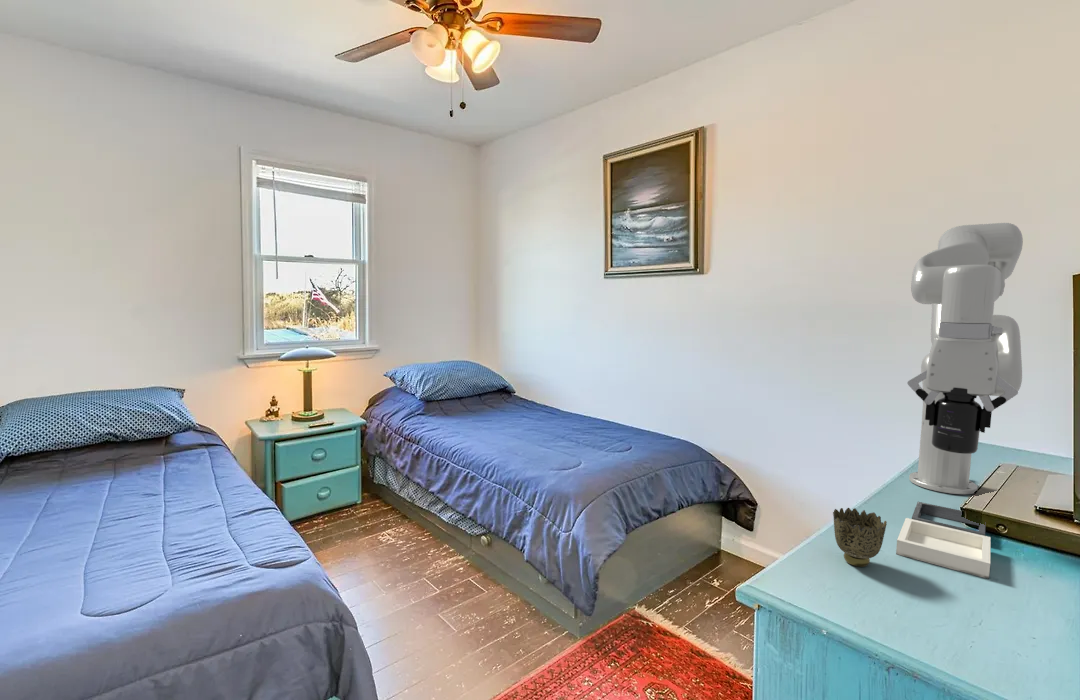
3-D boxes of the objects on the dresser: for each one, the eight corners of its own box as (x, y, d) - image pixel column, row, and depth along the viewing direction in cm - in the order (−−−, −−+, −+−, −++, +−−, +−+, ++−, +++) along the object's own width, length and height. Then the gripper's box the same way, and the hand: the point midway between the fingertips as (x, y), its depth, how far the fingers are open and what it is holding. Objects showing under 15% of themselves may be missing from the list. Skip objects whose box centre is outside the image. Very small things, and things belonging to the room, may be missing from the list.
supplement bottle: (939, 452, 96) (944, 388, 95) (925, 442, 102) (930, 382, 101) (985, 456, 94) (991, 390, 92) (968, 445, 100) (973, 384, 99)
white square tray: (904, 530, 98) (905, 517, 97) (989, 551, 90) (990, 537, 89) (896, 553, 88) (897, 539, 88) (988, 579, 81) (990, 563, 80)
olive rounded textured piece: (891, 577, 81) (895, 528, 80) (840, 572, 83) (843, 523, 82) (871, 554, 88) (874, 509, 88) (824, 550, 90) (827, 505, 89)
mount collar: (917, 510, 107) (917, 501, 106) (984, 525, 100) (985, 515, 100) (910, 527, 99) (911, 517, 99) (984, 545, 92) (985, 534, 92)
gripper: (1028, 333, 93) (1018, 431, 95) (909, 329, 104) (902, 417, 106) (1030, 336, 87) (1020, 440, 89) (904, 331, 98) (897, 423, 100)
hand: (956, 426), depth 97 cm, fingers closed on supplement bottle, 6 cm apart
